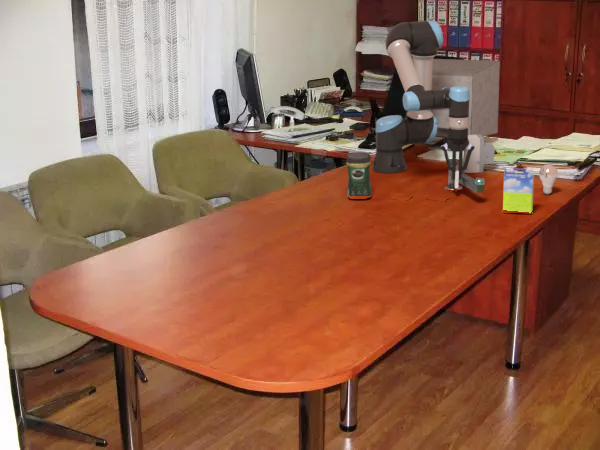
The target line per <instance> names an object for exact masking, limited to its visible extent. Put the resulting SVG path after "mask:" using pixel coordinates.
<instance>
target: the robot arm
mask: <svg viewBox="0 0 600 450" xmlns="http://www.w3.org/2000/svg"><path fill="white" fill-rule="evenodd" d="M386 36H387V37H386V38H385V50H386V52H387V54H388V57H390V58H392V61H393V64H394V66H395V68H396V71H397V75H398V77H399V79H400V82H401V85H402V88H403V90H404V93H403V96H402V106H403V108H404V111H406V117H405V118H403V116H402V115H401V114H399V115H398V114H395V115H386V116H382V117H380V118H378V119H377V120H376V122H375V149H376V150H375V155H374V158H373V162H372V170H373V172H377V173H382V174H393V173H400V172H405V171H406V170H407V168H408V167H407V166H408V165H407V162H406V159H405V156H404V155H405V154H404V153H403V152H404V151H403V146H404V145H405V146H406V145H418V144H421V145H423V144H427V143H431V142H433V141H434V140H435V138H437V137H436V134H437V120H436V118H435V117H434V116H433V113H432V112H431V111H430V110H434V109H446V108H448V109H449V123H448V126H449V127H450V128H449V129H448V140H447V143H446V144H444V145H441V148H442V150H441V151H442V152H443V155H444V158H445V163H446V167H447V170H451V171H452V179H455V188H458V185H459V182H458V181H459V179H461V178H462V171H463V170H466V169H467V166H468V163H469V159H470V156H471V153H472V151H473V150H474V148H475V147H474V145H471V144H470V143H469V141H468V128H467V127H468V122H469V99H470V94H469V88H468V87H464V86H455V87H451V88H442V89H440V90H431V87H432V71H433V59H435V57H436V56H437V55H438V50H441V49H442V48H443V44H444V36H443V30H442V27H441V25H440V23H439V22H438V21H436V20H420V21H418V20H417V21H406V22H405V21H403V22H399V23H397V24H396V25H394V26H393V27H392V28H391V29H390V30H389V32H388V34H387V35H386ZM447 146H449V148H450V149H451V150H452V151H451V153H452V156H451V157H452V158H451V159H452V167H451V166H450V162H449V159H450V158H449V154H448V151H447V149H448V148H447ZM467 146H468V152H467V155H466V159H465V162H464V165H463V167H462V158H464V150H465V149H466V147H467ZM457 152H458V159H459V164H458V170H456V159H457Z"/></svg>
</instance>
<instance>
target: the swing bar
mask: <svg viewBox="0 0 600 450" xmlns="http://www.w3.org/2000/svg"><path fill="white" fill-rule="evenodd" d="M451 181H452V182H455V179H452V171H451ZM458 184H460V185H461V186H464V187H466V188H467V189H469V190H470V191H472V192H474V193H476V194H480V193H485V178H483V177H476V178H473V177H472V176H470V175H468V174H466V173H465V171H464V170H463V171H462V178H461V179H459V181H458Z"/></svg>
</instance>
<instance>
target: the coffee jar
mask: <svg viewBox="0 0 600 450" xmlns="http://www.w3.org/2000/svg"><path fill="white" fill-rule="evenodd" d="M371 161H372V160H371V156H370V152H369V151H368V152H367V151H366V152H365V151H363V152H362V151H361V152H358V151H356V152H348V153H347V155H346V167H347V170H348V171H347V172H348V174H347V175H348V178H347V179H348V180H347V196H348V195H350V196H370V195H372V194H373V191H372V184H371V175H370V168H371V167H370V166H371V165H372V162H371ZM372 196H373V195H372Z"/></svg>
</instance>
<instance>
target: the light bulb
mask: <svg viewBox="0 0 600 450" xmlns="http://www.w3.org/2000/svg"><path fill="white" fill-rule="evenodd" d="M558 175H559V172H558V169H557V167H556V166H554V165H553V164H545V165H542V166H541V168H540V169H539V172H538V177H539V179H540V180H541V183H542V186H543V188H542V192H543V194H545V195H547V196H548V195H549V196H550V194H551V193H553V186H554V183H555V181H556V180H557V178H558Z"/></svg>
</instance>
